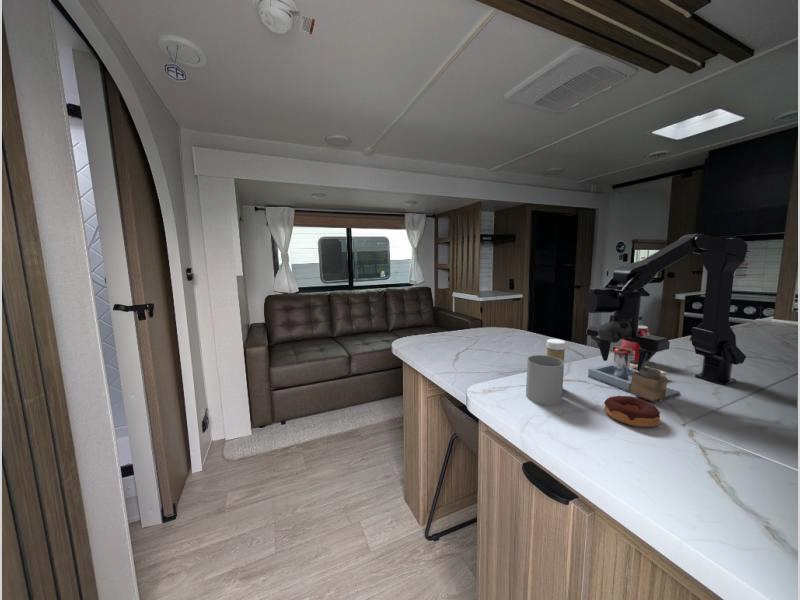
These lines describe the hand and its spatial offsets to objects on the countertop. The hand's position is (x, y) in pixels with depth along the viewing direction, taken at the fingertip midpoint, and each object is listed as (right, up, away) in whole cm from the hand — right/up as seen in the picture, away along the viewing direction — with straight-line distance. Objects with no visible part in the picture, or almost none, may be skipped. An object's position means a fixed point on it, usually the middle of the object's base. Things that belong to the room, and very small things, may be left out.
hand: (621, 365), depth 85 cm
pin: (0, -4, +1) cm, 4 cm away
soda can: (+16, -2, +16) cm, 23 cm away
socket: (+9, -4, +3) cm, 11 cm away
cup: (-26, -7, -8) cm, 28 cm away
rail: (+3, -6, -8) cm, 11 cm away
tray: (0, -4, +1) cm, 4 cm away
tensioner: (-1, -6, -10) cm, 12 cm away
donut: (-12, -8, -18) cm, 23 cm away
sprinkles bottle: (-21, -6, -3) cm, 22 cm away
